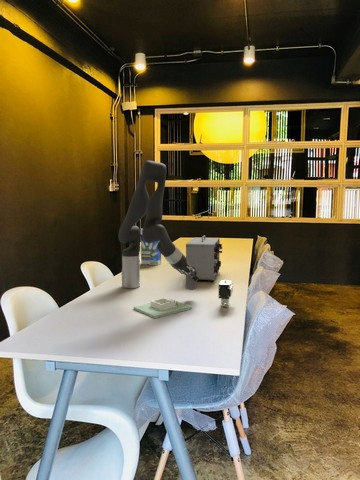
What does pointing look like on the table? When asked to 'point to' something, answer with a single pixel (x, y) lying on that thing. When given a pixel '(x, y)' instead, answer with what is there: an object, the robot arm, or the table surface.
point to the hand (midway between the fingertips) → (194, 279)
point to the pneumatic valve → (225, 292)
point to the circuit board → (162, 307)
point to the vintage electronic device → (204, 257)
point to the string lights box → (150, 252)
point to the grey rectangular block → (190, 282)
